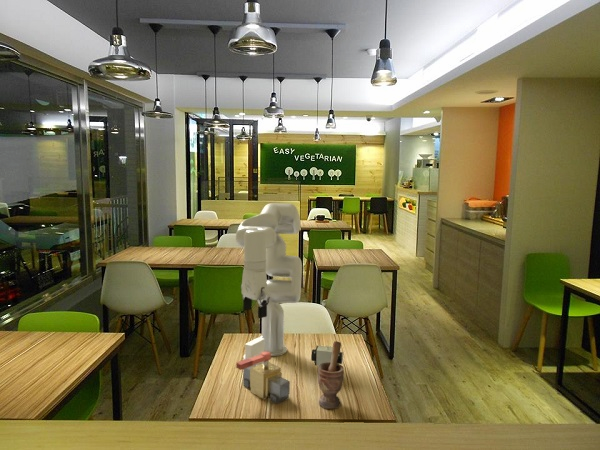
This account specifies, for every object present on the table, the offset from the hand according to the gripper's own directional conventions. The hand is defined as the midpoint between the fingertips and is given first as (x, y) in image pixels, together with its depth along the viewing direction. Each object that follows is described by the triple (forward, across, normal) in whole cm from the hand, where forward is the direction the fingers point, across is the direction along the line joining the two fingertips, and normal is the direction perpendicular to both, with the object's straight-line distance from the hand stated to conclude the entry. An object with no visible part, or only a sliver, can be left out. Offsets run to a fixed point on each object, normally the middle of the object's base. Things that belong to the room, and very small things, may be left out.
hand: (254, 313), depth 158 cm
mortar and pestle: (+29, +20, +18) cm, 40 cm away
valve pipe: (+29, +2, +4) cm, 29 cm away
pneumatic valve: (+29, +5, +30) cm, 42 cm away
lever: (+17, +3, -2) cm, 17 cm away
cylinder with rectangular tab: (+29, -15, +10) cm, 34 cm away
